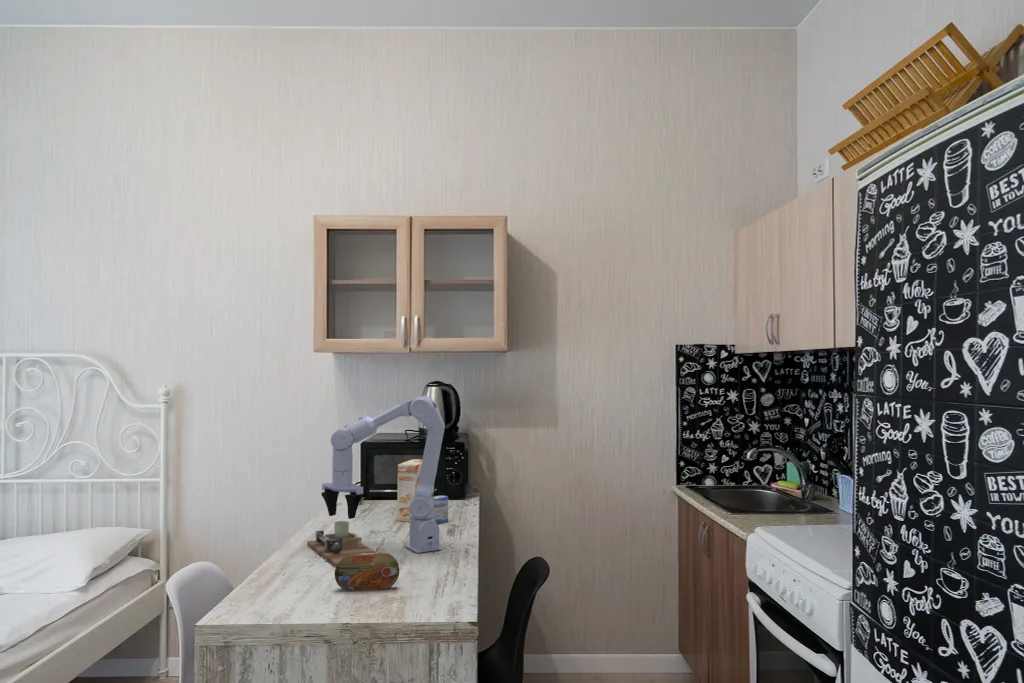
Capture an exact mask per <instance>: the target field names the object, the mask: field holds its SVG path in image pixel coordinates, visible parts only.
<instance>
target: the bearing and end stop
mask: <svg viewBox="0 0 1024 683" xmlns="http://www.w3.org/2000/svg"><path fill="white" fill-rule="evenodd" d="M319 534H323V535H324V536H325V531H324V530H323V529H322V530H316V531H315V541H316V542H322V541H321V540H320V539H319V538H318V535H319ZM332 542H338V543H340V544H341V545H342V538H335V539H327V540H325V552H326V553H330V543H332ZM341 551H342V550H341Z"/></svg>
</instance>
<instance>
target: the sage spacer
mask: <svg viewBox="0 0 1024 683" xmlns="http://www.w3.org/2000/svg"><path fill="white" fill-rule="evenodd" d="M349 525H350V521H348V520H339V521H334V533H335V538H342V539H347V538H349V532H350V531H349V530H350V529H349V528H350V526H349ZM335 538H334V539H335Z"/></svg>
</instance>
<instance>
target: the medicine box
mask: <svg viewBox="0 0 1024 683" xmlns="http://www.w3.org/2000/svg"><path fill="white" fill-rule="evenodd" d="M433 497H434V501H435V503H434V507H433V508H432V509H431V511H432V512H433V513H434V514H435V516H434V518H435V522H436V523H437V524H438V525H439V524H440V525H441V524H444V523H448V522H449V496H448V495H435V496H433Z"/></svg>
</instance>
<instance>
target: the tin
mask: <svg viewBox="0 0 1024 683" xmlns="http://www.w3.org/2000/svg"><path fill="white" fill-rule="evenodd" d="M334 568H335V567H334ZM399 576H400V566H399V562H398V560H397V559H396V558H395V556H394V555H392V554H391V553H387V552H377V553H363V554H350V555H347V556H345V557H344V558H342V559H341V560H340V561H339V563H338V564H337V566H336V568H335V569H334V579H335V582H336V584H337V585H338V587H339V588H341V589H342V590H344V591H346V592H362V591H363V592H364V591H365V592H366V591H382V590H383V591H384V590H387V589H389V588H391V587H392V586H394V585H395V584H396V582H398V579H399Z"/></svg>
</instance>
